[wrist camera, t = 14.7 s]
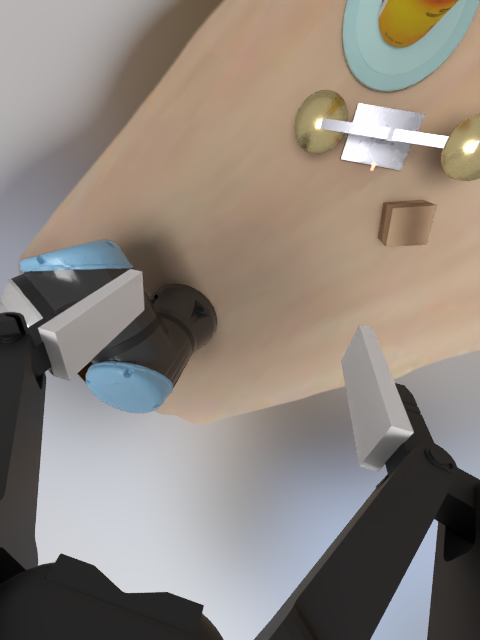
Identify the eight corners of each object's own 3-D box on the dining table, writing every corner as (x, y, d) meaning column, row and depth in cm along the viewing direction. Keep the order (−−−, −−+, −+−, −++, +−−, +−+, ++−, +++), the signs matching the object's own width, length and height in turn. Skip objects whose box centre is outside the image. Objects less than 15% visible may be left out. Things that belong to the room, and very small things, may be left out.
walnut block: (377, 237, 41) (385, 246, 37) (383, 202, 38) (392, 208, 34) (413, 235, 40) (426, 244, 35) (422, 199, 37) (436, 205, 33)
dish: (326, 83, 33) (326, 80, 32) (371, -92, 26) (374, -104, 24) (433, 100, 32) (437, 98, 30) (511, -78, 24) (521, -90, 23)
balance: (289, 154, 37) (286, 154, 30) (303, 95, 34) (302, 78, 26) (448, 184, 35) (486, 192, 28) (481, 125, 32) (533, 115, 24)
